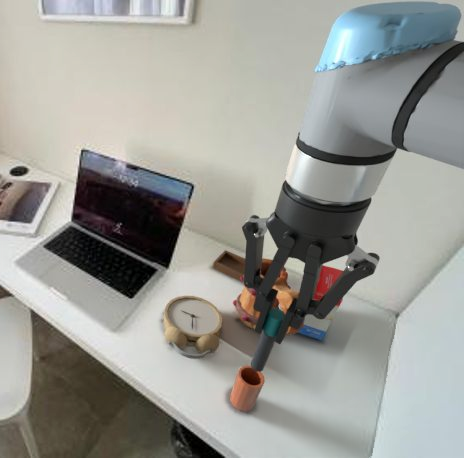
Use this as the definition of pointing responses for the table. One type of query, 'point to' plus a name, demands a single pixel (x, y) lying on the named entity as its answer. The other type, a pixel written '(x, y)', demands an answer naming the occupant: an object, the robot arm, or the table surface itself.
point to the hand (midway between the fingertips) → (270, 331)
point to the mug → (283, 297)
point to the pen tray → (230, 265)
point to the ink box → (326, 279)
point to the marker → (267, 339)
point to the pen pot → (246, 388)
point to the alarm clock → (192, 325)
